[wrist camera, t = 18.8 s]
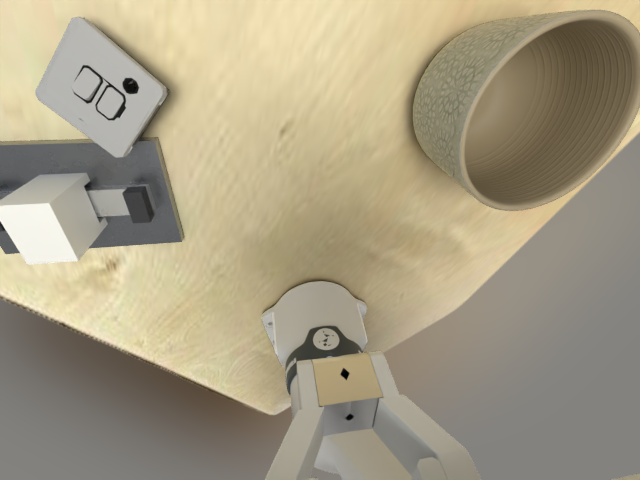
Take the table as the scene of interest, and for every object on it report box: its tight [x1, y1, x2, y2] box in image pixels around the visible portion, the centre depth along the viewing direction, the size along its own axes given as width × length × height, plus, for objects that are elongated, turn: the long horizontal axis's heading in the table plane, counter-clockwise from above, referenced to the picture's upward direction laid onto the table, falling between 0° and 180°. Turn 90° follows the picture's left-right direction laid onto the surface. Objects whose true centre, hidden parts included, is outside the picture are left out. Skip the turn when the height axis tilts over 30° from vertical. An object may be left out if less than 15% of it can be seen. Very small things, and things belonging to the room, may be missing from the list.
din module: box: [0, 173, 108, 265], centre depth 36 cm, size 8×5×8 cm, turn 179°
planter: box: [413, 10, 640, 211], centre depth 34 cm, size 17×17×15 cm
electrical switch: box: [36, 17, 169, 158], centre depth 32 cm, size 9×5×9 cm
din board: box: [0, 137, 184, 254], centre depth 38 cm, size 14×22×4 cm, turn 89°
